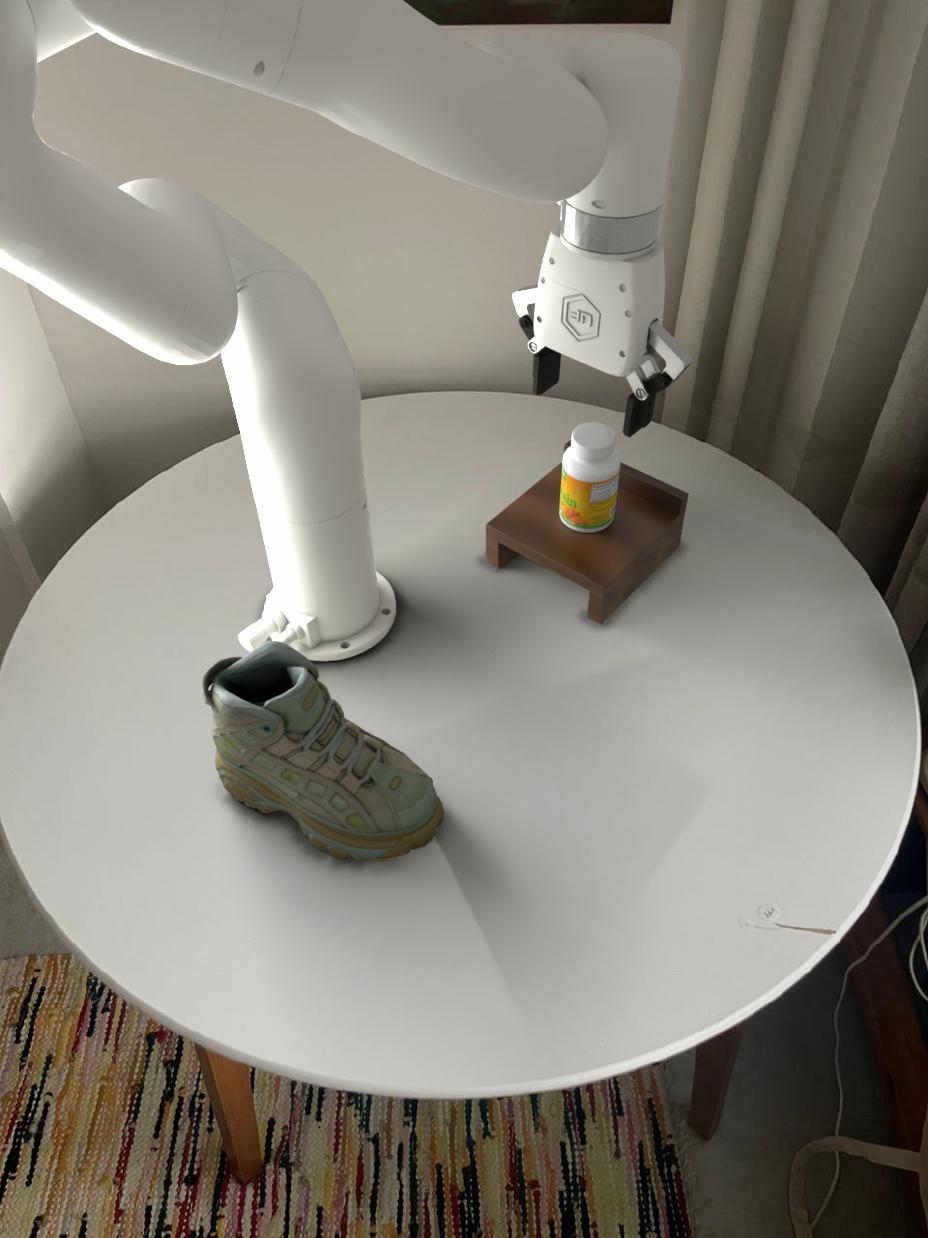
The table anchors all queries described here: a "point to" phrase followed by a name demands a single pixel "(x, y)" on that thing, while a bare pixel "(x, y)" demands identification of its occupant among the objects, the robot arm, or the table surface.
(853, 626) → the table surface
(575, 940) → the table surface
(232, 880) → the table surface
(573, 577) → the shelf
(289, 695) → the sneaker
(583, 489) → the supplement bottle
